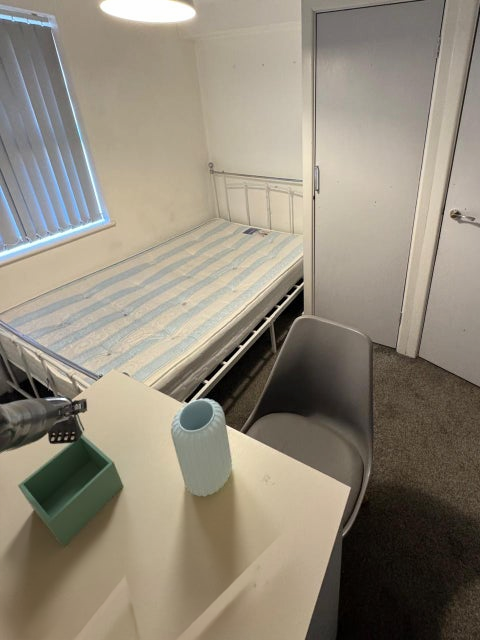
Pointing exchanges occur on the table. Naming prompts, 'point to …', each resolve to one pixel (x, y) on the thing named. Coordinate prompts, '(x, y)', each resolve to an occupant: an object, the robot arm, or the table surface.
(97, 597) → the table surface
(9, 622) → the table surface
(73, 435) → the battery charger
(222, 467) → the vase
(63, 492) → the bin
